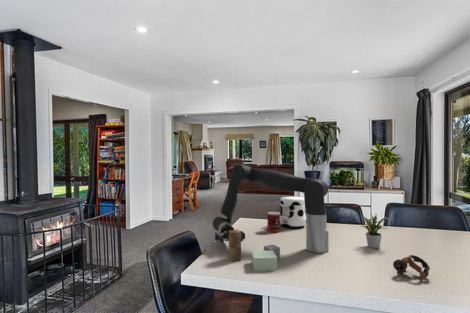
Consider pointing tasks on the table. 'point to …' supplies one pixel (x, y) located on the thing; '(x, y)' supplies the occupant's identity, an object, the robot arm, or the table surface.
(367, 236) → the house plant
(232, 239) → the walnut post
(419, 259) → the brown arched piece
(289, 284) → the table surface
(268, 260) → the sage block
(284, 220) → the milk container
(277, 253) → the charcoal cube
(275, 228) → the canned food
